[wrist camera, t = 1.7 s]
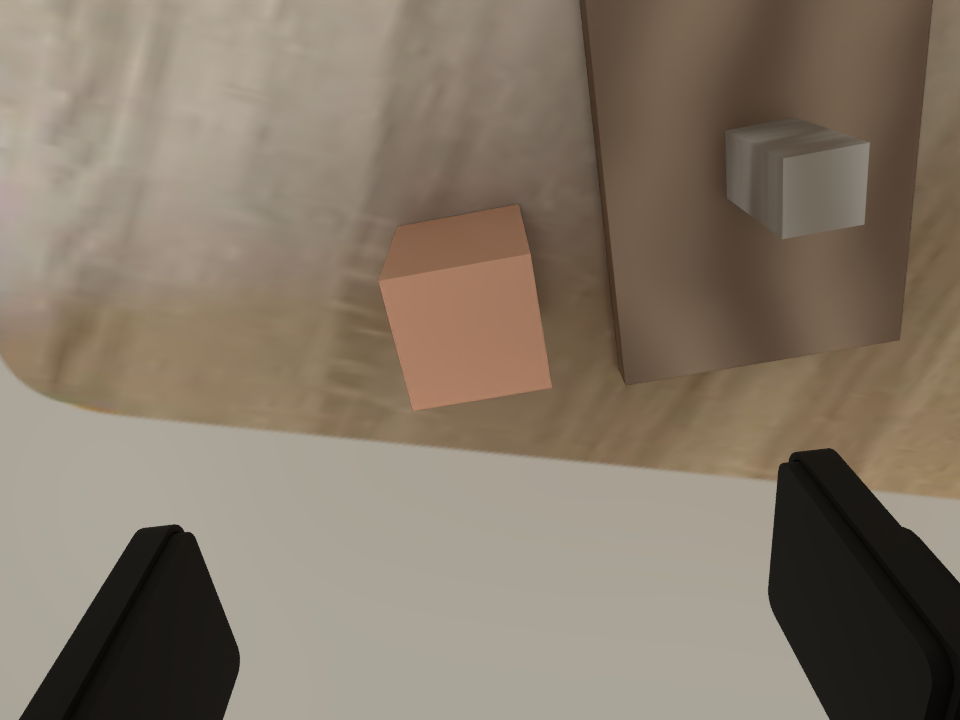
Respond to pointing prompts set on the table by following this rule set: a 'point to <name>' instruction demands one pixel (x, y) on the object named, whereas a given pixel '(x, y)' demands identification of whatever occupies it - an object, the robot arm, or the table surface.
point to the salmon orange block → (465, 308)
